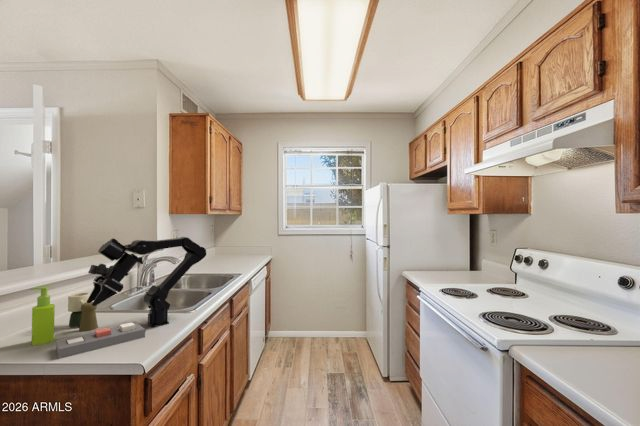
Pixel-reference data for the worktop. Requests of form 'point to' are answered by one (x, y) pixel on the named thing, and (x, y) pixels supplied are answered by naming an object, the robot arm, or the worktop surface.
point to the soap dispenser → (43, 319)
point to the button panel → (97, 341)
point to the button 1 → (75, 340)
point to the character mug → (76, 307)
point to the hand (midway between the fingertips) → (90, 304)
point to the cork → (88, 317)
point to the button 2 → (127, 327)
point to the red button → (102, 332)
